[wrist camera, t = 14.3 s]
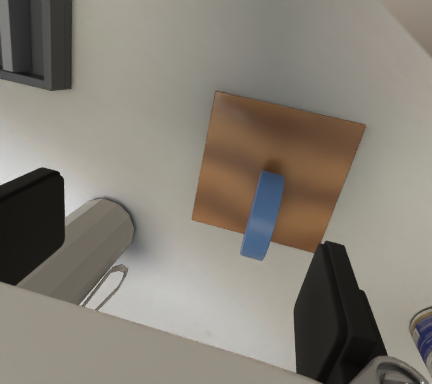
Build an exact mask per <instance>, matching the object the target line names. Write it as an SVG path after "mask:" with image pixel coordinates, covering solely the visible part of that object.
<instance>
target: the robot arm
mask: <svg viewBox="0 0 432 384" xmlns="http://www.w3.org/2000/svg"><path fill="white" fill-rule="evenodd" d="M64 241H65V204H64V179H63V177H62V176H61V175H60V173H59V172H58V171H55V170H51V169H47V168H43V167H42V168H39V169H36V170H34V171H32V172H30V173H27V174H25V175H23V176H21V177H18V178H16V179H14V180H12V181H9V182H7V183H5V184H3V185H0V384H429V383H428V381H427V380H426V379H425V378H424V377H423V376H422V375H421V374H420V373H419V372H418V371H417V370H416V369H414V368H413V367H411V366H410V365H408V364H407V363H405V362H403V361H401V360H399V359H397V358H394V357H390V356H388V354H387V352H386V349H385V346H384V343H383V341H382V338H381V335H380V332H379V330H378V327H377V324H376V321H375V319H374V316H373V313H372V310H371V307H370V305H369V302H368V299H367V296H366V294H365V292H364V291H363V290H360V289H359V287H358V284H357V281H356V278H355V275H354V272H353V269H352V267H351V264H350V261H349V258H348V255H347V252H346V249H345V246H344V245H341V244H337V243H333V242H330V241H326V242H325V243H324V244H320V243H319V244H318V246H317V248H316V251H315V253H314V256H313V259H312V261H311V264H310V266H309V269H308V272H307V274H306V277H305V279H304V282H303V285H302V287H301V290H300V292H299V295H298V298H297V300H296V303H295V307H294V330H295V351H296V371H297V373H294V372H291V371H288V370H285V369H282V368H279V367H276V366H273V365H271V364H268V363H265V362H262V361H259V360H256V359H252V358H249V357H246V356H243V355H239V354H236V353H233V352H230V351H226V350H223V349H220V348H217V347H213V346H210V345H207V344H204V343H201V342H197V341H194V340H191V339H188V338H184V337H181V336H178V335H175V334H171V333H168V332H165V331H162V330H158V329H155V328H152V327H148V326H145V325H142V324H139V323H135V322H132V321H129V320H125V319H122V318H119V317H116V316H112V315H109V314H106V313H102V312H99V311H96V310H93V309H89V308H86V307H83V306H79V305H76V304H73V303H69V302H66V301H63V300H59V299H56V298H53V297H49V296H46V295H43V294H40V293H36V292H33V291H30V290H26V289H23V288H20V287H16V285H17V284H18V283H19V282H21V281H22V280H23V279H24V278H25V277H27V276H28V275H29V274H30V273H31V272H32V271H34V270H35V269H36V268H37V267H38V266H40V265H41V264H42V263H43V262H44V261H45V260H47V259H48V258H49V257H50V256H51V255H53V254H54V253H55V252H56V251H57V250H58V249H60V248H61V247H62V245H63V244H64Z"/></svg>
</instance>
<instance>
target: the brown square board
mask: <svg viewBox="0 0 432 384" xmlns="http://www.w3.org/2000/svg"><path fill="white" fill-rule="evenodd" d="M365 128H366V125H364V124H360V123H355V122H351V121H346V120H342V119H338V118H333V117H329V116H324V115H320V114H316V113H311V112H307V111H302V110H298V109H294V108H289V107H285V106H280V105H276V104H272V103H267V102H263V101H258V100H254V99H250V98H245V97H241V96H236V95H232V94H228V93H223V92H219V91H216V92H215V97H214V102H213V108H212V113H211V118H210V124H209V129H208V135H207V140H206V145H205V151H204V156H203V161H202V167H201V172H200V177H199V183H198V188H197V193H196V199H195V204H194V210H193V215H192V220H195V221H198V222H202V223H206V224H209V225H213V226H217V227H220V228H224V229H228V230H231V231H235V232H239V233H243V234H245V230H246V226H247V222H248V218H249V214H250V210H251V206H252V203H253V199H254V195H255V192H256V188H257V184H258V181H259V177H260V174H261V171H262V170H264V171H268V172H272V173H276V174H280V175H283V176H284V187H283V193H282V198H281V203H280V208H279V212H278V216H277V220H276V224H275V227H274V231H273V234H272V238H271V241H272V242H276V243H279V244H283V245H287V246H290V247H294V248H298V249H301V250H305V251H309V252H312V253H315V251H316V248H317V246H318V244H319V243H321V240H322V238H323V235H324V233H325V230H326V227H327V225H328V222H329V220H330V217H331V215H332V212H333V210H334V207H335V205H336V202H337V199H338V197H339V194H340V192H341V189H342V187H343V184H344V182H345V179H346V177H347V174H348V171H349V169H350V166H351V164H352V161H353V159H354V156H355V154H356V151H357V148H358V146H359V143H360V141H361V138H362V136H363V133H364V131H365Z"/></svg>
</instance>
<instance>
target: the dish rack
mask: <svg viewBox="0 0 432 384" xmlns="http://www.w3.org/2000/svg"><path fill="white" fill-rule="evenodd" d="M0 79H4V80H8V81H13V82H17V83H21V84H25V85H29V86H33V87H38V88H42V89H46V90H50V91H55V90H64V89H71V0H0Z"/></svg>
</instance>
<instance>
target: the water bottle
mask: <svg viewBox="0 0 432 384" xmlns="http://www.w3.org/2000/svg"><path fill="white" fill-rule="evenodd" d="M133 234H134V227H133V224H132V221H131V218H130V216H129V214H128V213H127V212H126V211H125V210H124V209H123V208H122V207H121V206H120V205H119V204H117V203H114V202H111V201H109V200H106V199H96V200H90V201H88V202H86V203H85V204H84V205H82V206H81V207H79V208H78V209H77V210H75V211H74V212H72V213H71V214H69V215H68V216H67V217H65V241H64V244H63V245H62V247H61V248H60V249H58V250H57V251H56V252H55V253H54V254H53V255H51V256H50V257H49V258H48V259H47V260H45V261H44V262H43V263H42V264H41V265H40V266H38V267H37V268H36V269H35V270H34V271H32V272H31V273H30V274H29V275H28V276H27V277H25V278H24V279H23V280H22V281H21V282H19V283H18V284H17V285H16V287H20V288H23V289H26V290H30V291H33V292H36V293H40V294H43V295H46V296H49V297H53V298H56V299H59V300H63V301H66V302H69V303H73V304H76V305H79V304H80V303H81V302H82V301H83V299H84V298H85V297H86V296H87V295H88V293H89V292H90V291H91V290H92V289H93V288H94V286H95V285H96V284H97V283H98V282H99V280H100V279H101V278H102V277H103V276H104V275H105V273H106V272H107V271H108V270H109V269H110V267H111V266H112V265H113V264H114V263H115V262H116V260H117V259H118V258H119V257H120V256H121V254H122V253H123V252H124V251H125V250H126V249H127V247H128V246H129V245H130V244H131V243H132V239H133ZM116 271H120V272H123V273H124V275H123V278H122V280H121V282H120V284H119V285H118V287H117V288H116V289H115V290H114V291H113V292H112V293H111V294H110V295H109V296H108V297H107V298H106V299H105V300H104V301H103V302H102V303H101V304H100V305H99V306H98V307H97V308H96V309H95V310H96V311H98V310H99V309H100V308H101V307H102V306H103V305H104V304H105V303H106V302H107V301H108V300H109V299H110V298H111V297H112V295H113V294H114V293H115V292H116V291H117V290H118V289H119V287H120V285H121V284H122V282H123V280H124V279H125V277H126V275H127V272H128V268H127V267H125V266H124V265H123V264H121V265H117V266H115V267H112V269H111V270H110V271H109V272H108V273H107V274H106V275H105V276H104V278H103V279H102V280H101V282H100V283H99V284H98V285H97V287H96V288H95V289H94V291H93V292H92V293H91V295H90V296H89V297H88V298H87V300H86V301H85V302H84V304H83V305H82V306H83V307H85V305H86V304H87V303H88V301H89V300H90V299H91V298H92V296H93V295H94V294H95V292H96V291H97V290H98V289H99V287H100V286H101V285H102V283H103V282H104V281H105V279H106V278H107V277H108V276H109V274H110V273H112V272H116Z"/></svg>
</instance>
